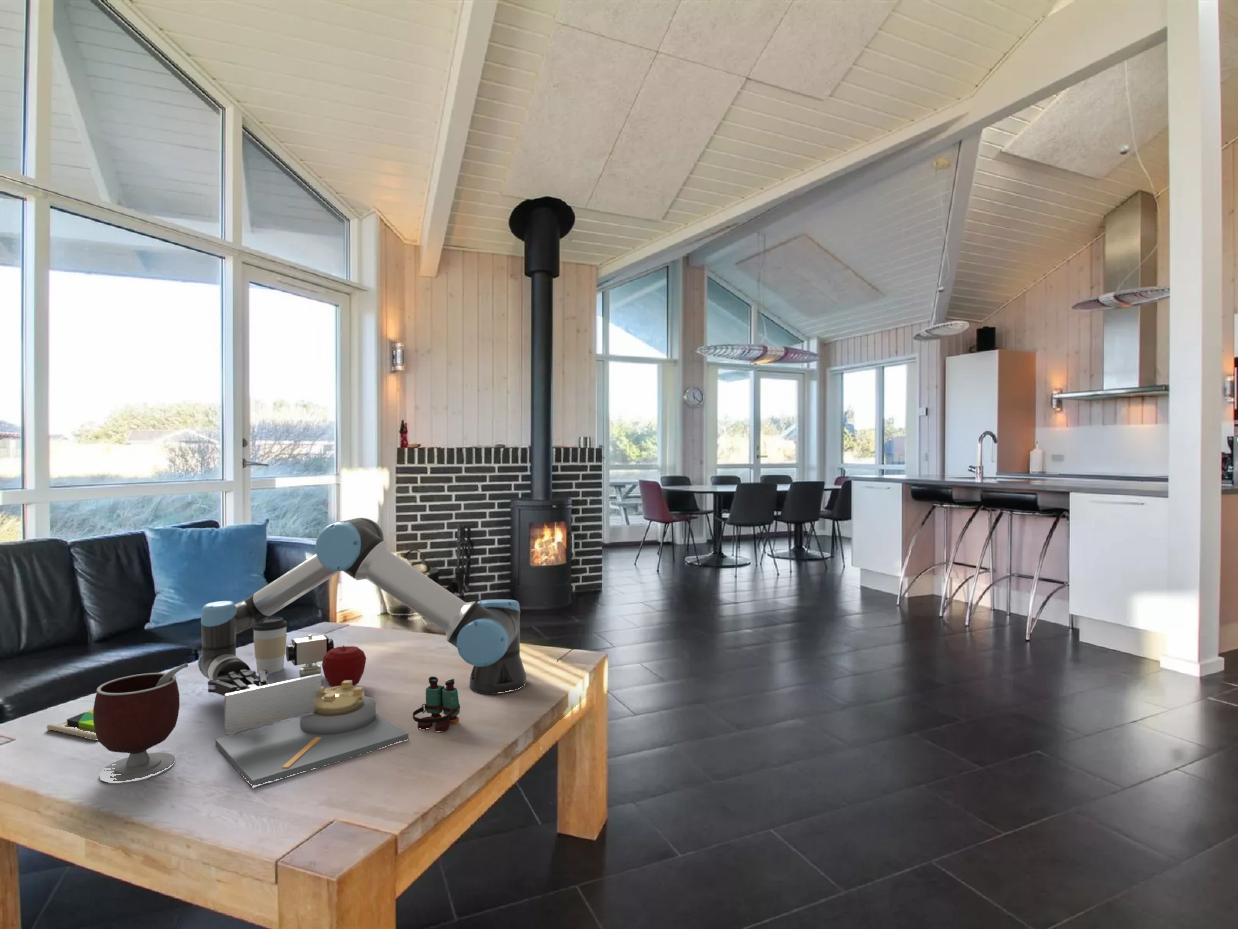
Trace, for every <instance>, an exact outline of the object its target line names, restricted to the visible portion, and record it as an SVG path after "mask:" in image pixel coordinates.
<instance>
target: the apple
mask: <svg viewBox="0 0 1238 929" xmlns="http://www.w3.org/2000/svg"><path fill="white" fill-rule="evenodd" d="M321 662H322V663H321V669H322V672H323V675H324V678H325V680H326V682H327V685H328V686H329V687H335V686H342V682H343V681H345V680H352V686H357V684H359V683H360V681H361V679H362V677H363V675H364V673H365V668H366V663H367V657H366V654H365V652H364V650H362V649H361V648H359V646H354V645H352V646H349V645H348V646H347V645H346V646H345V645H344V644H343V645H342V646H336V647H334V648H333V649H331V650H330V651H328V652H327V653H326V654H325V656H324V658H323V661H321Z"/></svg>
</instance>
